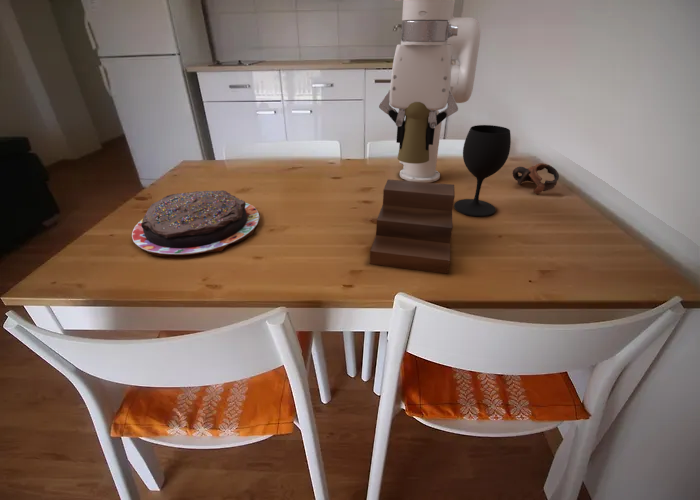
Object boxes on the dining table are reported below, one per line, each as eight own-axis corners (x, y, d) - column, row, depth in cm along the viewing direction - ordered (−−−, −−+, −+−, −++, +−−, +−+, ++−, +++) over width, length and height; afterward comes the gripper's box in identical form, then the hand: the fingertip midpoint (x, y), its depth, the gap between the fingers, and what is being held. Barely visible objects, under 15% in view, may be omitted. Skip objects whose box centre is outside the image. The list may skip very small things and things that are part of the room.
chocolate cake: (256, 252, 74) (252, 224, 70) (112, 265, 70) (99, 236, 67) (262, 199, 97) (259, 176, 94) (154, 206, 94) (147, 183, 90)
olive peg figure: (427, 154, 71) (434, 94, 65) (430, 164, 65) (438, 100, 60) (397, 153, 71) (401, 94, 65) (397, 163, 66) (401, 99, 60)
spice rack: (447, 273, 67) (455, 226, 62) (369, 263, 70) (371, 218, 65) (448, 224, 85) (454, 184, 79) (385, 217, 88) (387, 179, 82)
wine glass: (502, 207, 92) (521, 128, 82) (484, 221, 86) (502, 137, 75) (465, 197, 98) (479, 122, 88) (446, 208, 92) (458, 129, 81)
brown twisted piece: (544, 183, 108) (562, 165, 101) (543, 207, 103) (562, 189, 96) (506, 171, 108) (521, 152, 101) (504, 194, 104) (519, 176, 97)
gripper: (476, 34, 59) (459, 145, 69) (377, 34, 62) (374, 140, 72) (479, 34, 53) (460, 156, 62) (369, 35, 56) (367, 150, 66)
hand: (414, 146), depth 67 cm, fingers closed on olive peg figure, 4 cm apart
